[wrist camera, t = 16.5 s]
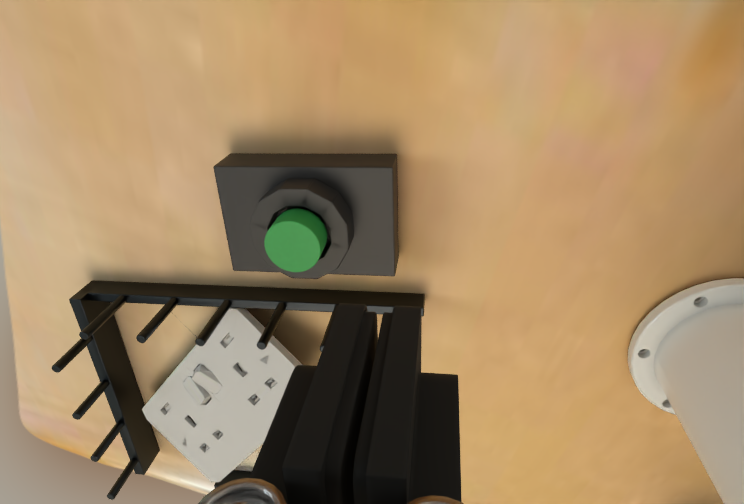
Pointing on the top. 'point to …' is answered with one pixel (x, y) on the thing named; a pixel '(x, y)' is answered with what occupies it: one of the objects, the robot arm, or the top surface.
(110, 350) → the dish rack
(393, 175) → the control block
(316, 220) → the button
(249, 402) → the wall socket
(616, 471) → the top surface
